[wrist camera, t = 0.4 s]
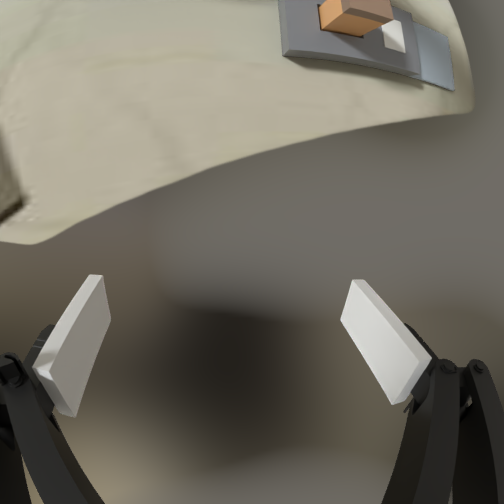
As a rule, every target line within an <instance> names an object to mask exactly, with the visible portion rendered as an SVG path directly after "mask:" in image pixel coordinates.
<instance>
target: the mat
mask: <svg viewBox="0 0 504 504" xmlns="http://www.w3.org/2000/svg"><path fill="white" fill-rule="evenodd" d="M413 25H414V31H415V36H416V43H417V49H418V57H419V65H420V74H419V75H412V76H409V77H412V78H415V79H419V80H422V81H425V82H428V83H431V84H434V85H437V86H440V87H443V88H445V89H448V90H451V91H455V89H454V78H453V69H452V61H451V54H450V48H449V42H448V37H446V36H444V35H442V34H440V33H438V32H436V31H434V30H432V29H430V28H427V27H425V26H423V25H421V24H418V23H416V22H413Z"/></svg>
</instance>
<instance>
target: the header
mask: <svg viewBox="0 0 504 504" xmlns="http://www.w3.org/2000/svg"><path fill="white" fill-rule="evenodd" d="M325 1H326V0H278V6H279V17H280V29H281V42H282V56H290V57H304V58H315V59H323V60H331V61H338V62H345V63H351V64H357V65H362V66H367V67H372V68H377V69H381V70H386V71H390V72H394V73H398V74H401V75H405V76H412V75H419V74H420V65H419V57H418V49H417V43H416V36H415V31H414V25H413V20H412V16H411V13H409V12H406V11H404V10H401V9H399V8H396V7H393V6H391V8H392V13H393V18H394V20H393V21H390V22H388V23H386V24H384V25H382V26H380V27H378V28H376V29H374V30H372V31H370V32H368V33H366V34H364V35H362V36H360V37H354V36H349V35H344V34H339V33H333V32H327V31H320V24H319V15H318V8H319V7H320V6H321V5H322V4H323V3H324V2H325Z"/></svg>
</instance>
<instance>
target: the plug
mask: <svg viewBox="0 0 504 504" xmlns="http://www.w3.org/2000/svg"><path fill="white" fill-rule="evenodd" d="M318 15H319V24H320V31H327V32H333V33H339V34H344V35H349V36H354V37H360V36H362V35H364V34H366V33H368V32H370V31H372V30H374V29H376V28H378V27H380V26H382V25H384V24H386V23H388V22H390V21H393V20H394V18H393V13H392V8H391V4H390V0H326V1H325V2H324V3H323V4H322V5H321V6H320V7H319V8H318Z"/></svg>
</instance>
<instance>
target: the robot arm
mask: <svg viewBox="0 0 504 504" xmlns="http://www.w3.org/2000/svg"><path fill="white" fill-rule="evenodd" d="M110 321H111V317H110V311H109V307H108V302H107V297H106V292H105V286H104V281H103V276H102V275H89V276H88V278H87V279H86V280H85V282H84V283H83V285H82V286H81V288H80V289H79V291H78V292H77V294H76V295H75V296H74V298H73V299H72V301H71V302H70V304H69V306H68V307H67V309H66V310H65V312H64V313H63V315H62V317H61V318H60V320H59V321H58V323H57V324H56V325H48V326H47V327H46V328H45V329H44V330H42V331H41V333H40V335H39V336H38V338H37V340H36V341H35V343H34V344H33V347H32V348H31V349H30V351H29V353H28V355H27V356H26V358H25V360H24V362H23V363H21V361H20V359H19V357H18V356H17V355H16V354H15V353H10V352H8V353H4V354H2V355H0V504H32V503H31V499H30V495H29V491H28V487H27V483H26V478H25V473H24V468H23V462H22V457H21V454H22V456H23V459H24V462H25V464H26V467H27V469H28V471H29V474H30V476H31V478H32V480H33V482H34V484H35V486H36V489H37V491H38V493H39V495H40V497H41V499H42V500H43V503H44V504H105V503H104V502H103V500H102V499H101V497H100V496H99V495H98V493H97V492H96V490H95V489H94V487H93V486H92V484H91V483H90V481H89V480H88V478H87V476H86V475H85V473H84V472H83V470H82V469H81V467H80V465H79V463H78V461H77V460H76V458H75V456H74V454H73V453H72V451H71V449H70V447H69V445H68V443H67V441H66V439H65V437H64V435H63V433H62V431H61V429H60V427H59V425H58V423H57V421H56V418H55V416H54V415H53V413H52V411H53V408H54V405H55V407H56V408H57V410H58V411H59V413H60V414H64V415H68V416H72V417H76V414H77V411H78V408H79V405H80V401H81V398H82V395H83V392H84V389H85V386H86V383H87V380H88V378H89V375H90V372H91V369H92V366H93V364H94V361H95V358H96V356H97V353H98V351H99V348H100V345H101V343H102V340H103V338H104V335H105V333H106V330H107V328H108V326H109V324H110ZM341 322H342V323H343V325H344V327H345V328H346V330H347V331H348V333H349V334H350V336H351V338H352V339H353V341H354V343H355V344H356V346H357V347H358V349H359V351H360V352H361V354H362V355H363V357H364V359H365V360H366V362H367V364H368V365H369V367H370V369H371V370H372V372H373V373H374V375H375V377H376V379H377V380H378V382H379V383H380V385H381V387H382V389H383V390H384V392H385V393H386V395H387V397H388V399H389V400H390V402H391V404H392V405H393V404H396V403H400V402H403V401H405V400H406V398H407V397H408V395H409V394H410V392H411V393H412V395H413V399H412V400H411V402H410V403H409V404H408V406H407V407H406V408H405V410H404V413H405V412H406V411H407V410H408V409H409V413H408V417H407V422H406V426H405V430H404V435H403V439H402V442H401V446H400V450H399V453H398V457H397V460H396V463H395V467H394V470H393V473H392V476H391V479H390V482H389V484H388V487H387V490H386V493H385V495H384V498H383V501H382V503H381V504H448V501H449V496H450V491H451V487H452V491H453V504H504V412H503V409H502V405H501V402H500V400H499V397H498V394H497V391H496V388H495V385H494V383H493V380H492V377H491V375H490V372H489V370H488V368H487V366H486V365H485V364H484V363H483V362H482V361H480V360H477V359H473V360H471V361H470V362H469V363H468V365H467V366H466V367H457V366H456V365H455V364H454V363H453V362H452V361H450V360H447V359H438V357H437V356H436V355H435V354H434V352H433V351H432V350H431V349H430V348H429V346H428V345H427V344H426V343H425V342H423V339H422V338H421V337H419V335H418V334H417V332H416V331H415V330H414V329H413V328H411V327H410V326H409V325H407V324H406V323H404V324H403V323H402V322H401V320H400V319H399V318H398V317H397V316H396V315H395V314H394V313H393V312H392V310H391V309H390V308H389V307H388V306H387V305H386V303H385V302H384V301H383V300H382V299H381V298H380V297H379V296H378V295H377V293H376V292H375V291H374V290H373V289H372V288H371V287H370V286H369V285H368V284H367V283H366V282H365V280H352V282H351V286H350V290H349V293H348V297H347V300H346V303H345V307H344V310H343V313H342V316H341ZM470 398H472V404H471V405H470V406H468V403H467V402H468V401H469V400H470Z"/></svg>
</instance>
